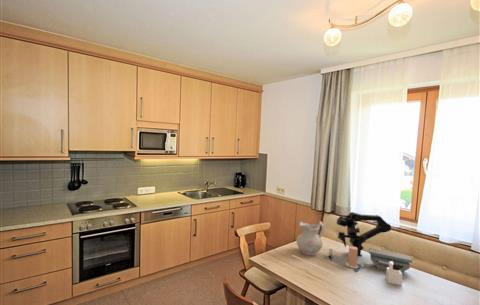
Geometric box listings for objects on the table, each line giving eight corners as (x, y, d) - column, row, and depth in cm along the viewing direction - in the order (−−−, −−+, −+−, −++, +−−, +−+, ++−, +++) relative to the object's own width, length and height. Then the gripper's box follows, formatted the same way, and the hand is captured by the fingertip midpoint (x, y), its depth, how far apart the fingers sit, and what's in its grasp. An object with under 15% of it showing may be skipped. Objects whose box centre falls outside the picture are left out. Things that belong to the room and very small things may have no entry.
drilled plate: (332, 255, 189) (332, 253, 189) (363, 266, 172) (363, 265, 172) (324, 259, 181) (324, 257, 181) (356, 271, 164) (356, 270, 164)
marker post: (347, 262, 175) (349, 245, 175) (355, 263, 174) (356, 247, 173) (348, 265, 170) (349, 248, 170) (356, 266, 169) (357, 249, 169)
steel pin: (329, 255, 186) (330, 247, 185) (332, 257, 184) (333, 248, 184) (328, 256, 184) (328, 248, 184) (331, 257, 182) (331, 249, 182)
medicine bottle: (398, 280, 156) (399, 261, 156) (401, 285, 149) (403, 266, 149) (385, 277, 158) (386, 259, 158) (388, 283, 152) (389, 264, 151)
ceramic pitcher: (311, 247, 204) (310, 217, 206) (330, 255, 188) (329, 222, 189) (291, 252, 193) (291, 220, 195) (310, 260, 177) (309, 225, 178)
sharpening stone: (409, 271, 168) (410, 256, 168) (411, 276, 161) (412, 260, 161) (368, 262, 179) (369, 247, 179) (368, 266, 172) (369, 251, 172)
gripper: (339, 221, 185) (340, 240, 175) (366, 225, 180) (369, 245, 169) (337, 228, 193) (338, 247, 182) (363, 232, 187) (365, 252, 177)
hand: (352, 248), depth 178 cm, fingers open, 9 cm apart
